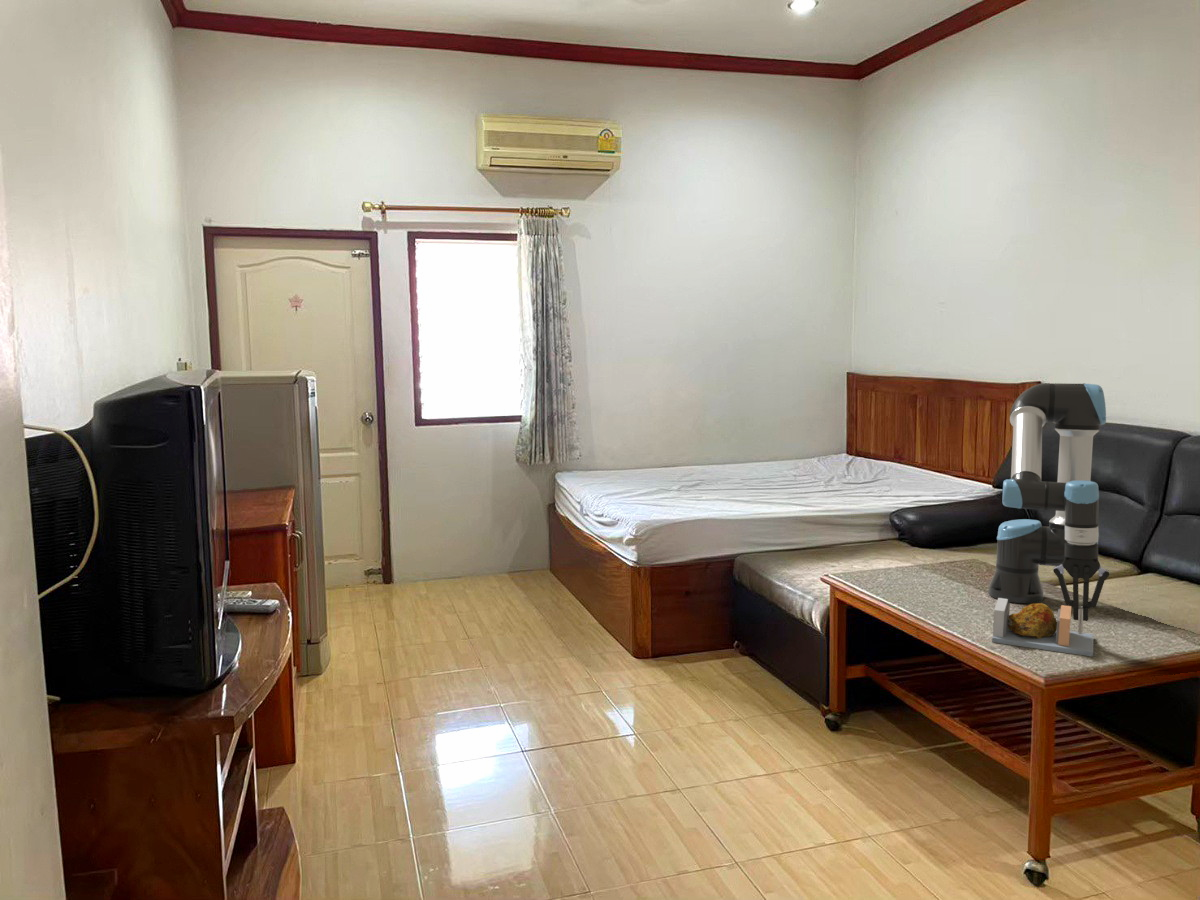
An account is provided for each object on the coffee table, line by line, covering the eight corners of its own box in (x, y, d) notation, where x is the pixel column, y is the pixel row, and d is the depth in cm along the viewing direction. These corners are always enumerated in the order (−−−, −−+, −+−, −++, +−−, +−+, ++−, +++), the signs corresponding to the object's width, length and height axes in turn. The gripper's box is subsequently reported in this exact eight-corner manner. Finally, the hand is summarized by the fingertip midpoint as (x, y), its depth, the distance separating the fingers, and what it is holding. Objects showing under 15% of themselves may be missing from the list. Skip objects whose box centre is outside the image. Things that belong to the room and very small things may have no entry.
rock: (1045, 655, 231) (1022, 630, 229) (1021, 649, 239) (998, 625, 237) (1068, 621, 233) (1045, 596, 232) (1043, 617, 241) (1020, 593, 239)
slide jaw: (1057, 630, 237) (1058, 604, 236) (1069, 632, 236) (1071, 606, 235) (1055, 644, 227) (1057, 617, 226) (1068, 646, 226) (1070, 619, 225)
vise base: (997, 625, 246) (998, 596, 245) (1092, 638, 235) (1094, 608, 234) (992, 642, 233) (993, 611, 232) (1092, 656, 222) (1095, 624, 221)
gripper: (1053, 543, 227) (1052, 634, 229) (1110, 546, 221) (1109, 639, 223) (1053, 537, 233) (1053, 625, 236) (1109, 540, 227) (1108, 630, 230)
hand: (1080, 632), depth 229 cm, fingers closed
